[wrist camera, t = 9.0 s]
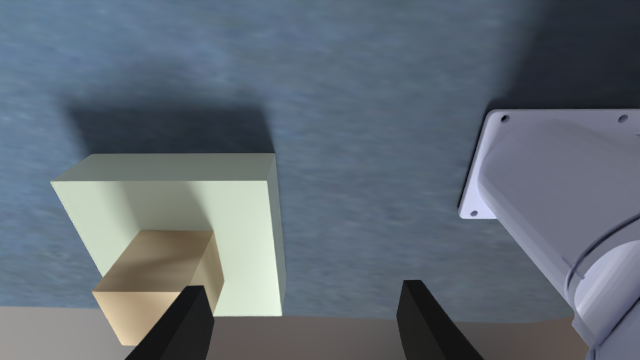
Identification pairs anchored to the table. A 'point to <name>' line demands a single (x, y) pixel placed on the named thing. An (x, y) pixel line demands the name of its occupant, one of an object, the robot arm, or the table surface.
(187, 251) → the birch block
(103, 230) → the green box
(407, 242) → the table surface
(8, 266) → the table surface
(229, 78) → the table surface
